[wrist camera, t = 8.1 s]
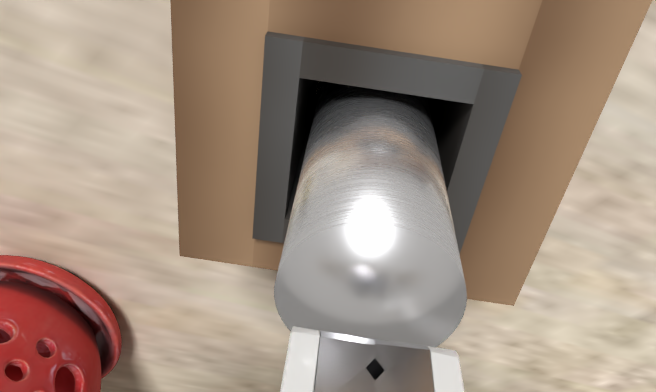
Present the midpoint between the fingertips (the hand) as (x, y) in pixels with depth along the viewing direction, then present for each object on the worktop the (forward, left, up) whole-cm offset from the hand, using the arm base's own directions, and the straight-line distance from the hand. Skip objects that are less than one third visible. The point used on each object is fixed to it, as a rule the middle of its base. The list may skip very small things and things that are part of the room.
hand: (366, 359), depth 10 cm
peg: (0, 0, -12) cm, 12 cm away
